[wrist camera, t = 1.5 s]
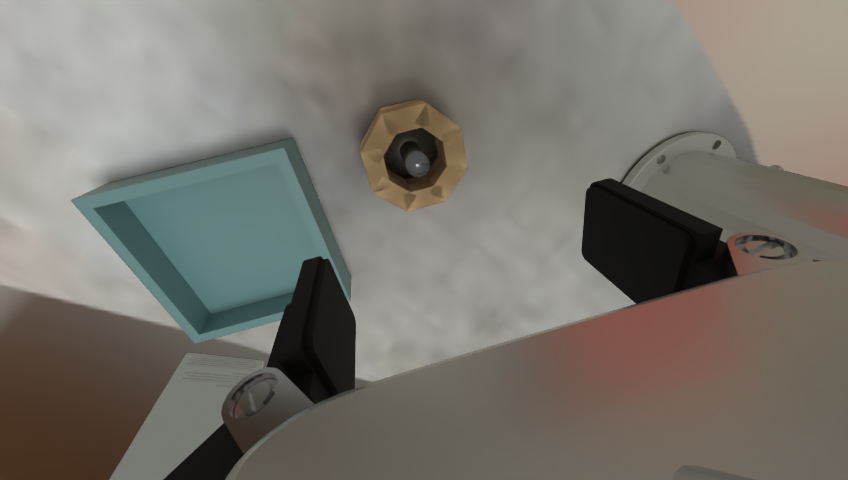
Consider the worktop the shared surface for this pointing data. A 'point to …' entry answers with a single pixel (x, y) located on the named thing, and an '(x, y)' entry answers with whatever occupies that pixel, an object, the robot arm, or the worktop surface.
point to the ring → (439, 175)
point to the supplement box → (183, 415)
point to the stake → (411, 153)
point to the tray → (219, 236)
